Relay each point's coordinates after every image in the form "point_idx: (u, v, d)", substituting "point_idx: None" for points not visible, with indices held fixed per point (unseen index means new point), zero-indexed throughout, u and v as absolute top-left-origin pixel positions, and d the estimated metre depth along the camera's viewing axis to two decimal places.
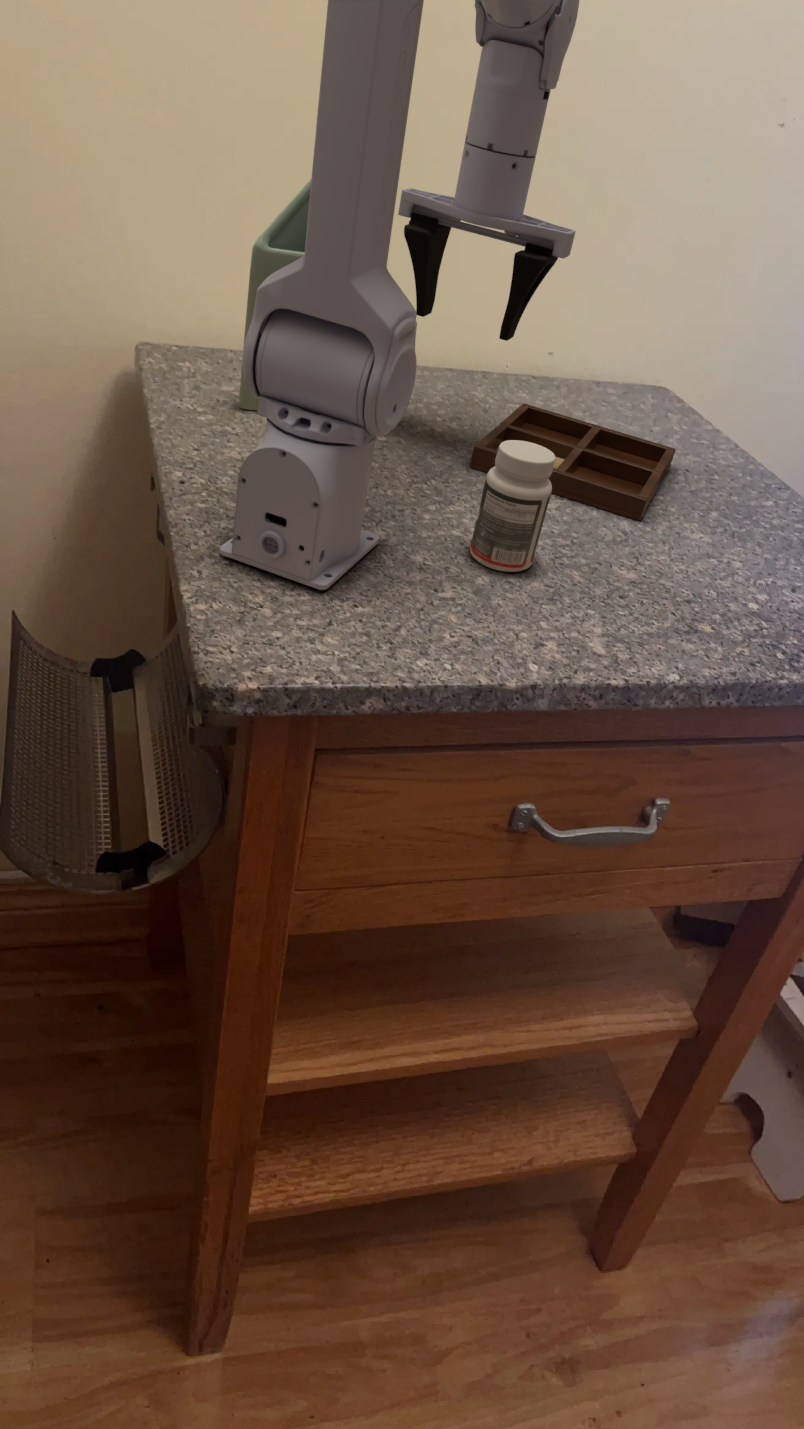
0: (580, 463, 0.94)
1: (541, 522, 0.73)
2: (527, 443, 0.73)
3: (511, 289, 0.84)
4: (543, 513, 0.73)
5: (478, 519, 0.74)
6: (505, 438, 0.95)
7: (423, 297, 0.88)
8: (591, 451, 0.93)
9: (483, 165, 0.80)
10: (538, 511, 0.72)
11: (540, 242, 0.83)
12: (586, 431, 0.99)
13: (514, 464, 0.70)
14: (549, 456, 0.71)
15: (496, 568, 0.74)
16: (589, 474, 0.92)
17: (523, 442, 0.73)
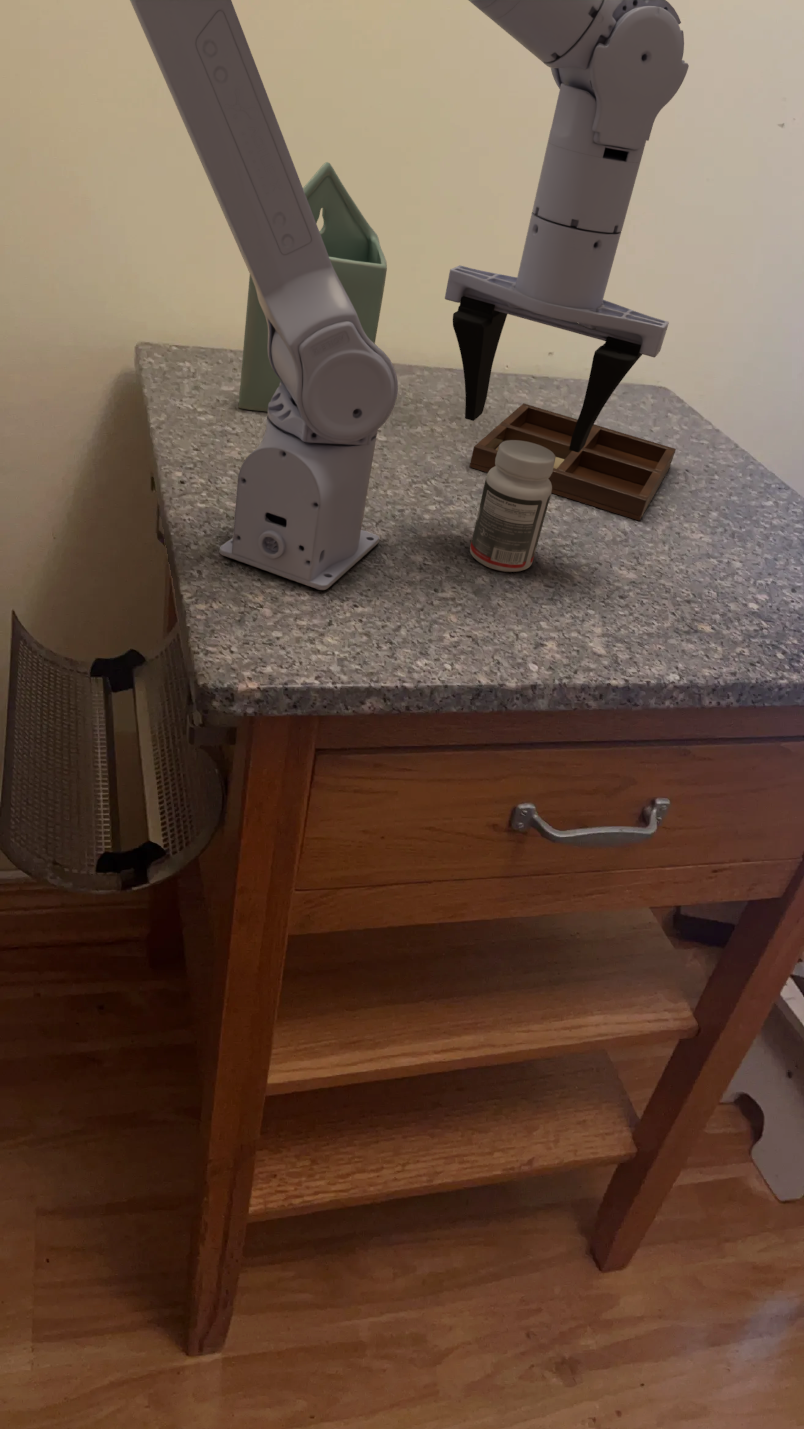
0: (580, 463, 0.94)
1: (541, 522, 0.73)
2: (527, 443, 0.73)
3: (587, 393, 0.68)
4: (543, 513, 0.73)
5: (478, 519, 0.74)
6: (505, 438, 0.95)
7: (474, 398, 0.71)
8: (591, 451, 0.93)
9: (556, 244, 0.63)
10: (538, 511, 0.72)
11: (624, 336, 0.66)
12: None
13: (514, 464, 0.70)
14: (549, 456, 0.71)
15: (496, 568, 0.74)
16: (589, 474, 0.92)
17: (523, 442, 0.73)
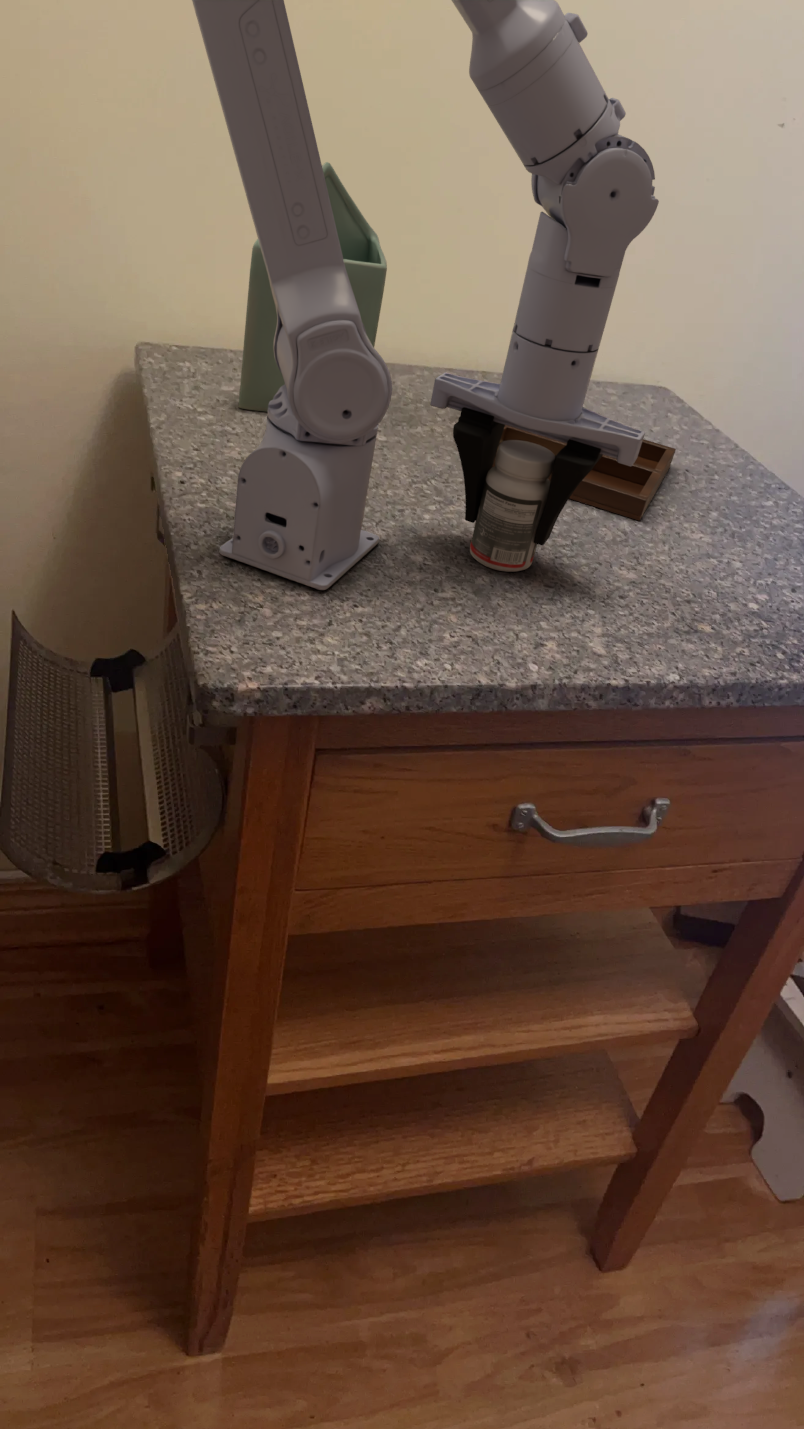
0: None
1: None
2: (527, 443, 0.73)
3: (549, 492, 0.70)
4: None
5: (478, 519, 0.74)
6: (505, 438, 0.95)
7: (474, 502, 0.73)
8: None
9: (536, 362, 0.65)
10: (537, 511, 0.72)
11: (602, 445, 0.69)
12: None
13: (513, 464, 0.70)
14: (548, 456, 0.71)
15: (496, 568, 0.74)
16: (589, 474, 0.92)
17: (523, 442, 0.73)
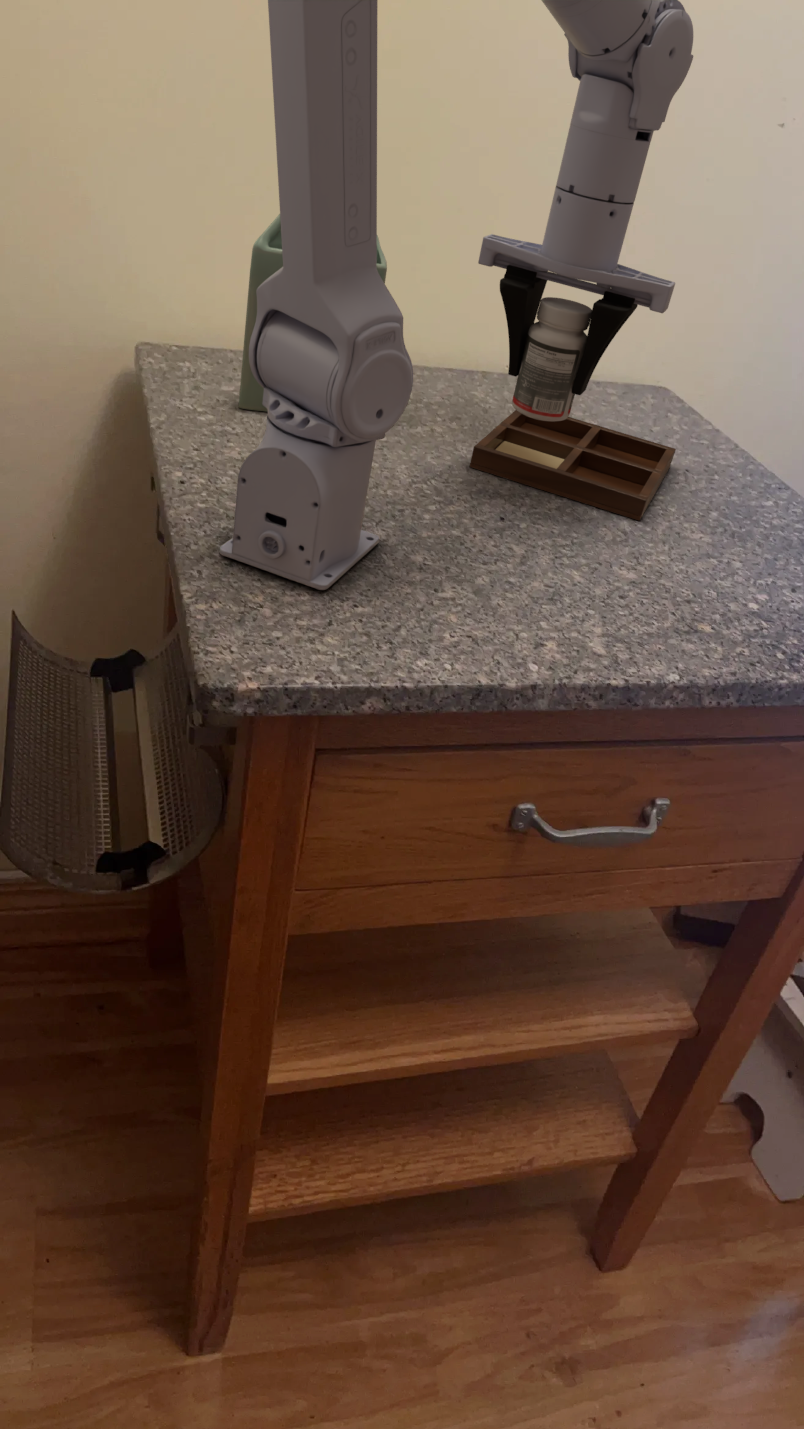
0: (580, 463, 0.94)
1: None
2: (566, 300, 0.79)
3: (587, 341, 0.77)
4: None
5: (520, 372, 0.81)
6: (505, 438, 0.95)
7: (517, 356, 0.80)
8: (591, 451, 0.93)
9: (577, 213, 0.72)
10: (576, 361, 0.79)
11: (636, 295, 0.76)
12: (586, 431, 0.99)
13: (555, 314, 0.77)
14: (586, 309, 0.78)
15: (537, 417, 0.81)
16: (589, 474, 0.92)
17: (562, 299, 0.79)
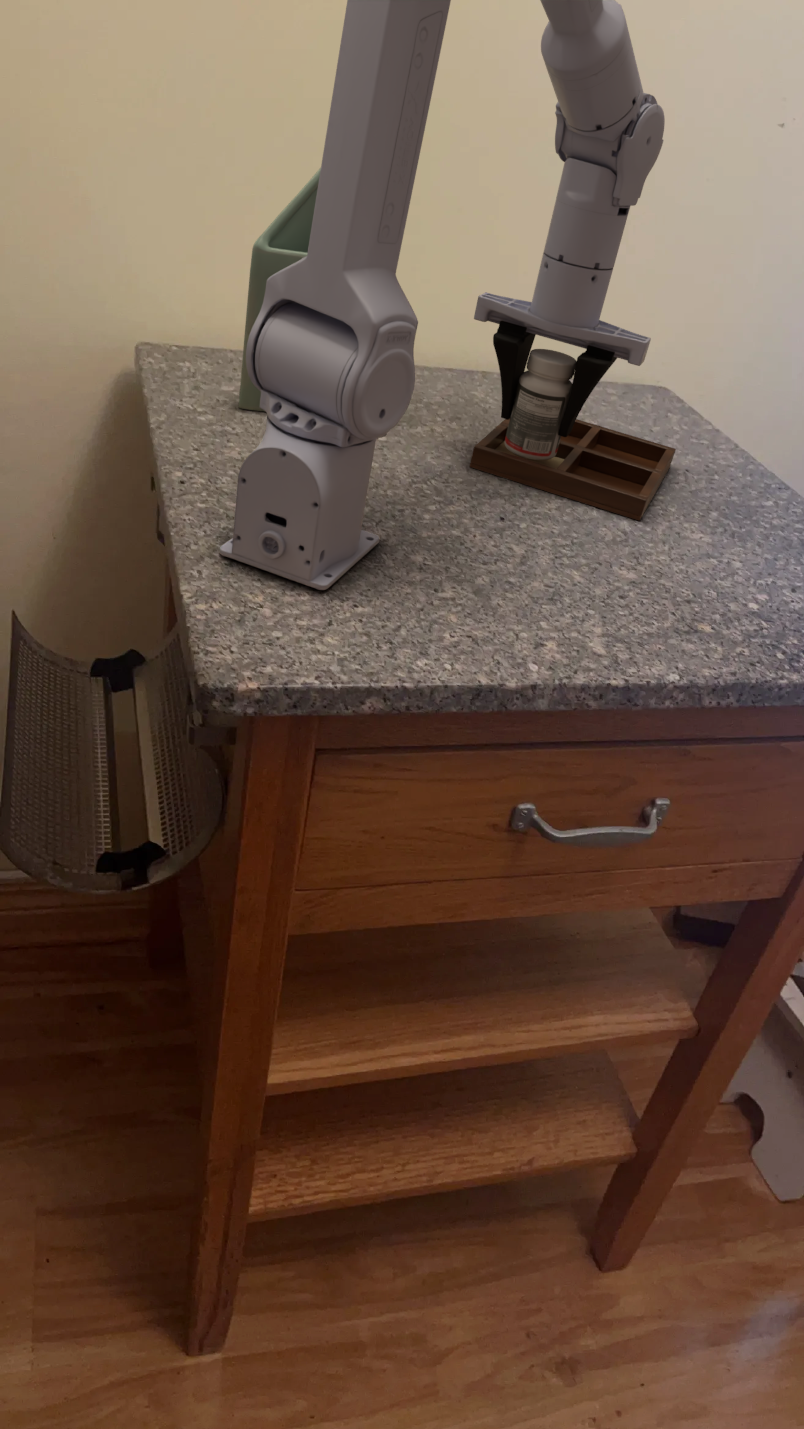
0: (580, 463, 0.94)
1: None
2: (553, 351, 0.88)
3: (572, 390, 0.86)
4: None
5: (512, 416, 0.89)
6: None
7: (509, 401, 0.89)
8: (591, 451, 0.93)
9: (562, 278, 0.81)
10: (562, 407, 0.87)
11: (616, 349, 0.84)
12: (586, 431, 0.99)
13: (543, 365, 0.85)
14: (571, 360, 0.86)
15: (527, 456, 0.89)
16: (589, 474, 0.92)
17: (549, 350, 0.88)
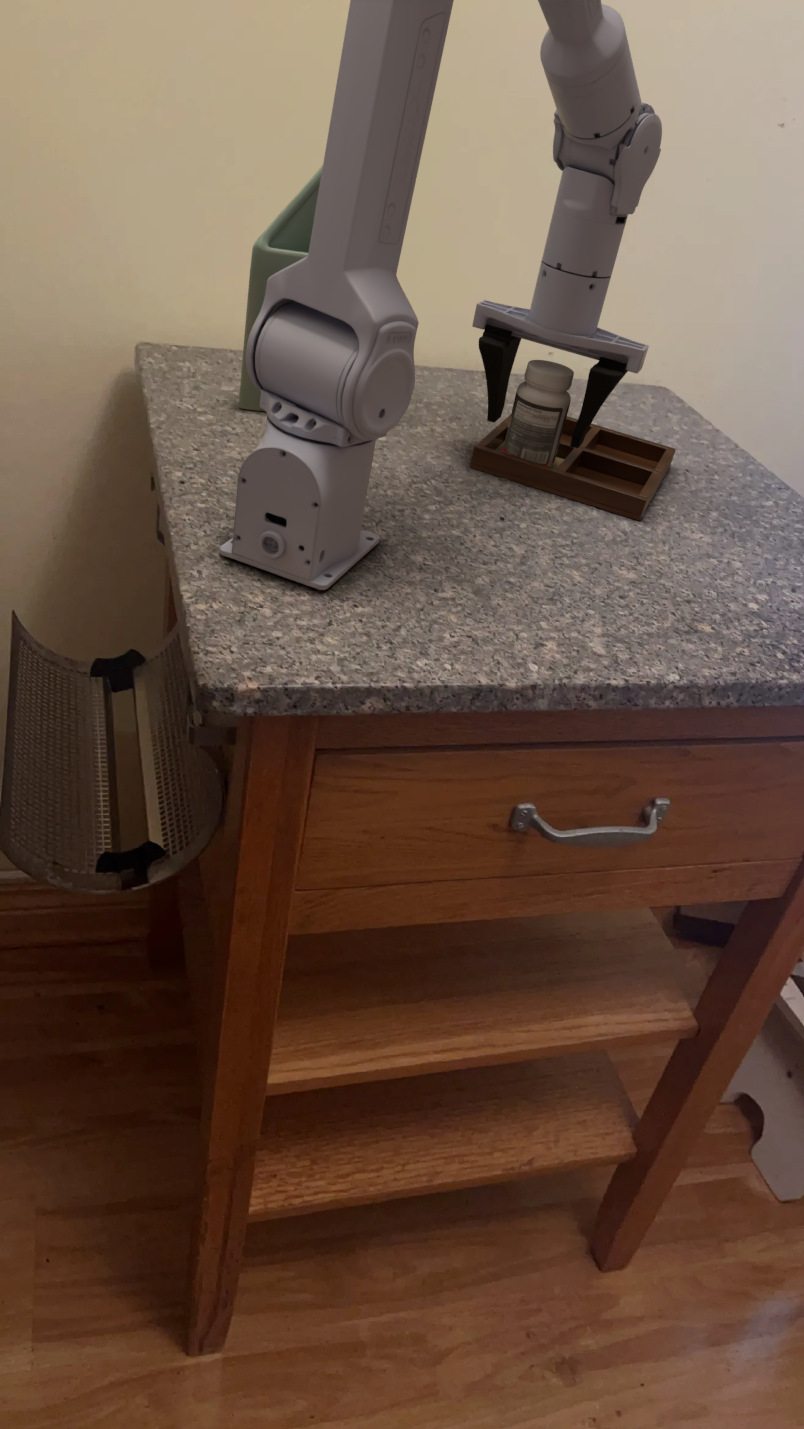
0: (580, 463, 0.94)
1: (561, 428, 0.89)
2: (550, 362, 0.88)
3: (584, 401, 0.86)
4: (563, 420, 0.88)
5: (509, 426, 0.90)
6: None
7: (495, 405, 0.89)
8: (591, 451, 0.93)
9: (560, 286, 0.81)
10: (559, 417, 0.88)
11: (614, 356, 0.85)
12: None
13: (540, 377, 0.86)
14: (568, 371, 0.87)
15: None
16: (589, 474, 0.92)
17: (547, 361, 0.88)
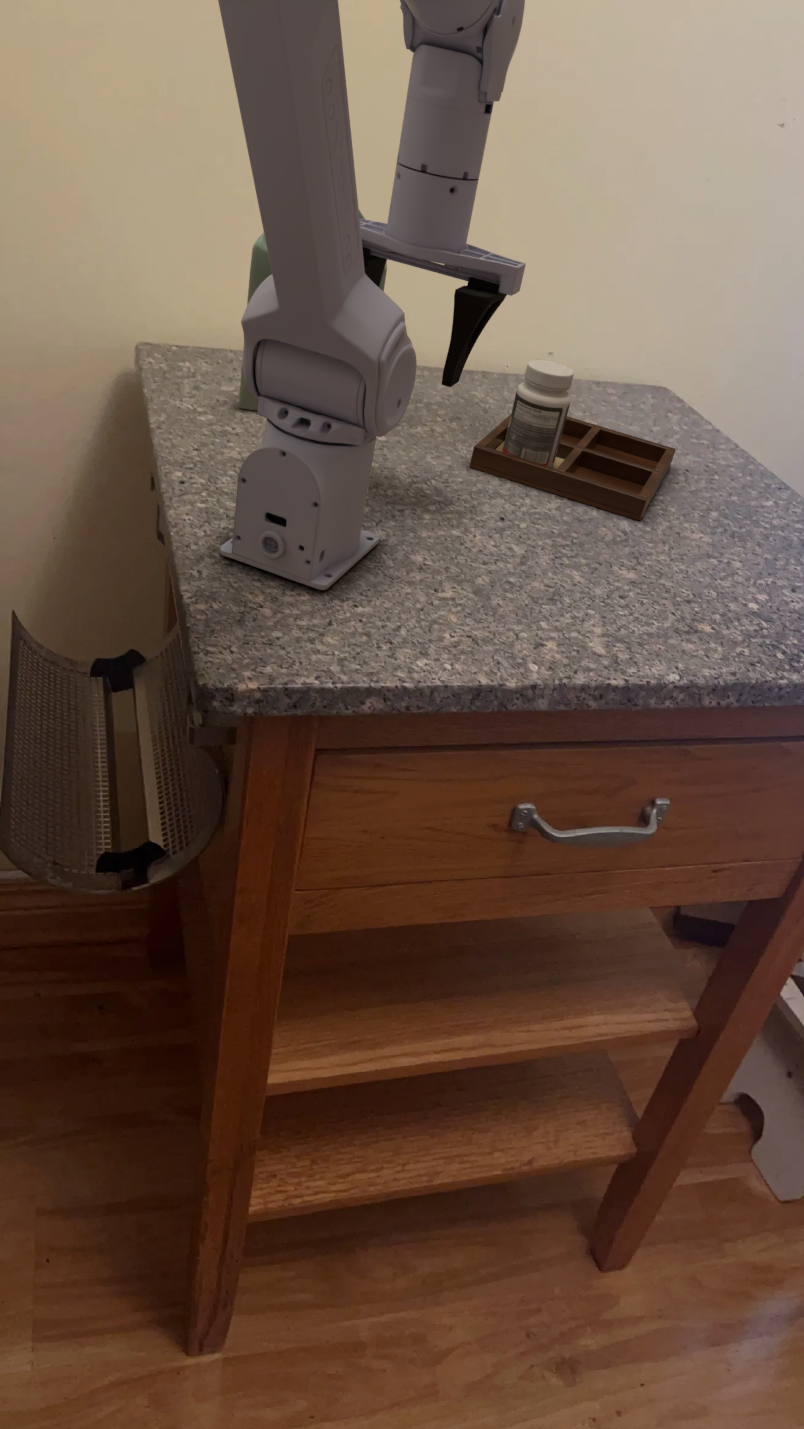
0: (580, 463, 0.94)
1: (561, 428, 0.89)
2: (550, 362, 0.88)
3: (453, 330, 0.73)
4: (563, 420, 0.88)
5: (509, 426, 0.90)
6: None
7: None
8: (591, 451, 0.93)
9: (416, 189, 0.69)
10: (559, 417, 0.88)
11: (485, 276, 0.72)
12: (586, 431, 0.99)
13: (540, 377, 0.86)
14: (568, 371, 0.87)
15: None
16: (589, 474, 0.92)
17: (547, 361, 0.88)
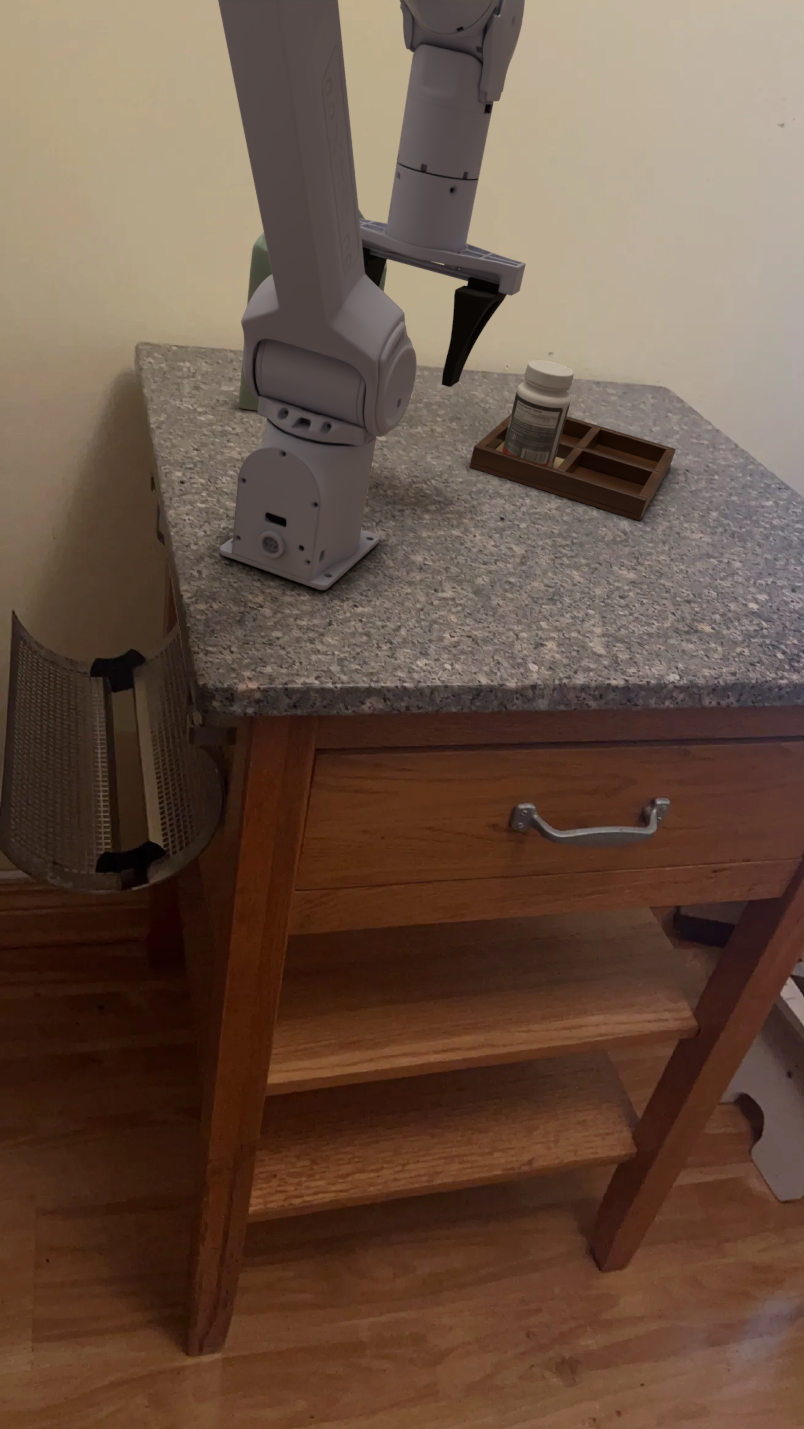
0: (580, 463, 0.94)
1: (561, 428, 0.89)
2: (550, 362, 0.88)
3: (453, 330, 0.73)
4: (563, 420, 0.88)
5: (509, 426, 0.90)
6: None
7: None
8: (591, 451, 0.93)
9: (416, 189, 0.69)
10: (559, 417, 0.88)
11: (485, 276, 0.72)
12: (586, 431, 0.99)
13: (540, 377, 0.86)
14: (568, 371, 0.87)
15: None
16: (589, 474, 0.92)
17: (547, 361, 0.88)
